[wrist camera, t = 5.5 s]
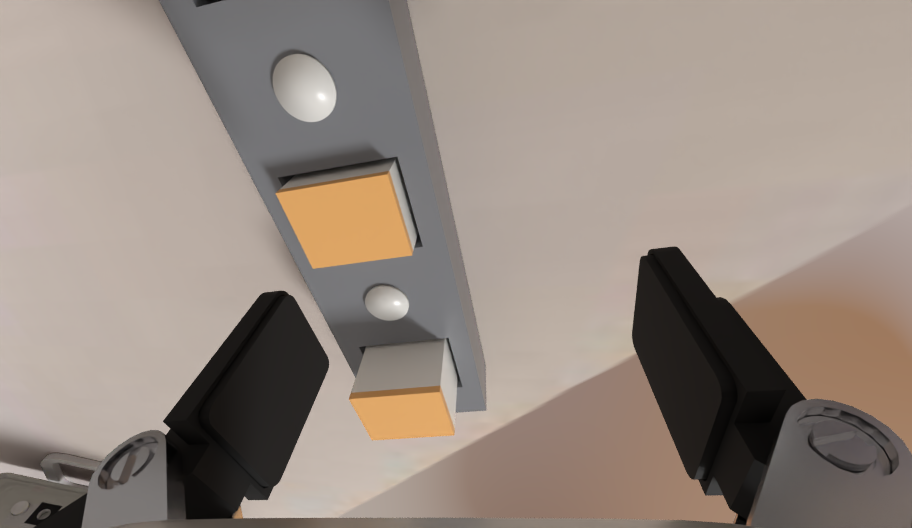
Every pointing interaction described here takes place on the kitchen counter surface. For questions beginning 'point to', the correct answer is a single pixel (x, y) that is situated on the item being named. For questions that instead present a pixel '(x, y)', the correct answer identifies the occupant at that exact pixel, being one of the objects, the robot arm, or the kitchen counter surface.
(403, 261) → the power strip
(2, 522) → the network device
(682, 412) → the robot arm
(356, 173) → the middle switch
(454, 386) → the switch
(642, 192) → the kitchen counter surface
